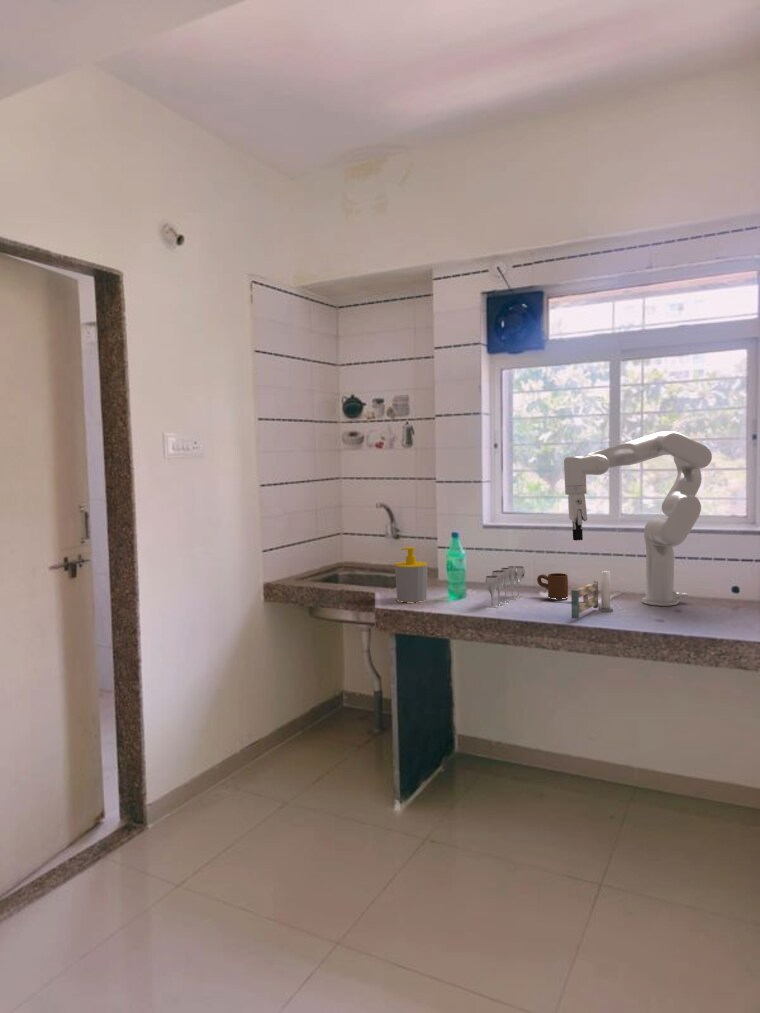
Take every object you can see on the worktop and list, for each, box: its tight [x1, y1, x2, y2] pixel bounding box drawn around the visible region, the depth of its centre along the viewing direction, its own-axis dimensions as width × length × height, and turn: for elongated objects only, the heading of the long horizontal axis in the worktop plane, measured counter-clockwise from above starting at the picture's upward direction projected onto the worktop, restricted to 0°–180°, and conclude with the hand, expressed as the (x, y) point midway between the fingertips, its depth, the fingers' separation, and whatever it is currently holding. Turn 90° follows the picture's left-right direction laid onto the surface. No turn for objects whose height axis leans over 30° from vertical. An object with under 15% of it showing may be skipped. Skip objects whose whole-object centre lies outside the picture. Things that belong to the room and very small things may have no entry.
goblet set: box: [484, 565, 526, 608], centre depth 263 cm, size 28×6×13 cm, turn 144°
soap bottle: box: [394, 546, 428, 602], centre depth 271 cm, size 13×13×21 cm
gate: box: [570, 580, 599, 620], centre depth 239 cm, size 20×2×10 cm, turn 141°
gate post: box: [598, 570, 614, 613], centre depth 245 cm, size 4×5×14 cm
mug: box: [536, 572, 569, 599], centre depth 268 cm, size 12×8×9 cm, turn 60°
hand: (577, 539), depth 251 cm, fingers closed
